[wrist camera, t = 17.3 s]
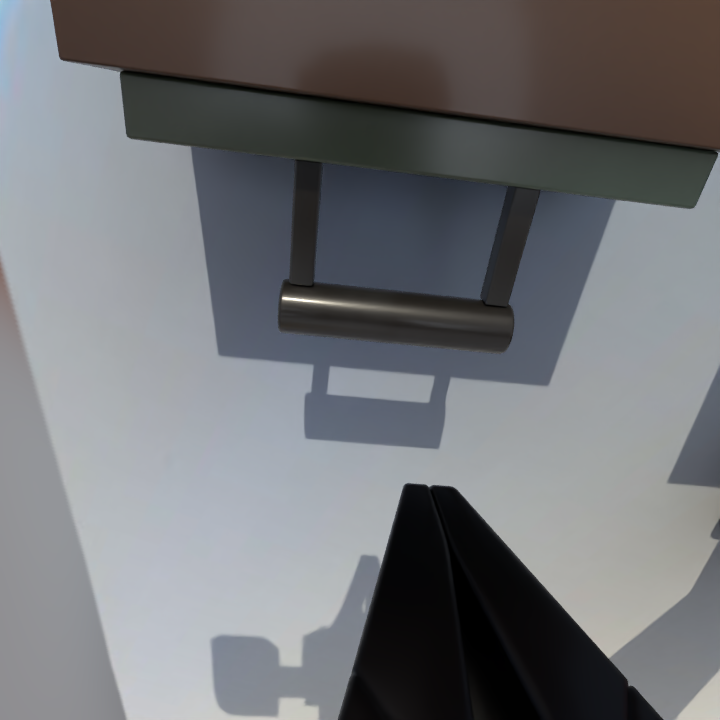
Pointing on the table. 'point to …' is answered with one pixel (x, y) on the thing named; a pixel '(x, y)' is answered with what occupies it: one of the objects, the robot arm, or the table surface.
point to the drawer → (412, 156)
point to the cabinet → (434, 56)
